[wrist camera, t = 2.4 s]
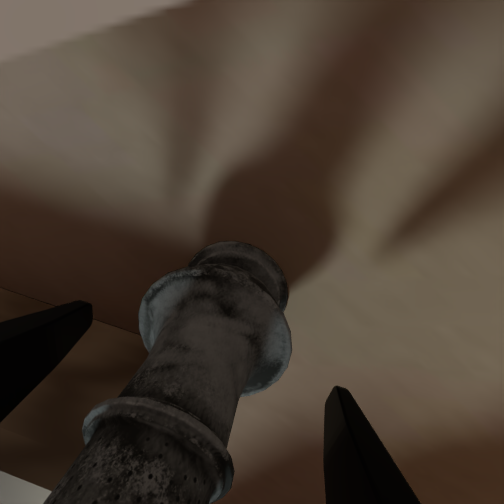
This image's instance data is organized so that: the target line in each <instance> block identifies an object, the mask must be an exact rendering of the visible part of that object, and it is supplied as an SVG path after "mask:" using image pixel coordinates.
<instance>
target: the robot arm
mask: <svg viewBox="0 0 504 504" xmlns="http://www.w3.org/2000/svg"><path fill="white" fill-rule="evenodd" d="M92 322H93V313H92V305H91V304H90V303H88V302H85V301H82V300H78V301H74V302H71V303H67V304H64V305H60V306H56V307H53V308H49V309H46V310H42V311H38V312H35V313H31V314H28V315H24V316H20V317H17V318H13V319H10V320H6V321H2V322H0V423H1V422H2V421H3V420H4V419H5V418H6V417H7V416H8V415H9V414H10V413H11V412H12V411H13V410H14V409H15V408H16V407H17V406H18V405H19V404H20V403H21V402H22V401H23V400H24V399H25V398H26V397H27V396H28V395H29V394H30V393H31V392H32V391H33V390H34V389H35V388H36V387H37V386H38V385H39V384H40V383H41V382H42V381H43V380H44V379H45V378H46V377H47V376H48V375H49V374H50V373H51V372H52V371H53V370H54V369H55V368H56V366H57V365H58V364H59V363H60V362H61V361H62V360H63V359H64V358H65V356H66V355H67V354H68V353H69V352H70V350H71V349H72V348H73V347H74V346H75V345H76V343H77V342H78V341H79V340H80V339H81V337H82V336H83V335H84V334H85V333H86V331H87V330H88V329H89V328H90V326H91V325H92ZM323 462H324V479H325V494H326V504H421V503H420V501H419V500H418V498H417V497H416V495H415V494H414V492H413V490H412V489H411V487H410V486H409V484H408V483H407V481H406V479H405V478H404V476H403V475H402V473H401V472H400V470H399V468H398V467H397V465H396V464H395V462H394V461H393V459H392V458H391V456H390V454H389V453H388V451H387V450H386V448H385V447H384V445H383V443H382V442H381V440H380V439H379V437H378V436H377V434H376V432H375V431H374V429H373V428H372V426H371V425H370V423H369V421H368V420H367V418H366V417H365V415H364V414H363V412H362V410H361V409H360V407H359V406H358V404H357V403H356V401H355V400H354V398H353V396H352V395H351V393H350V392H349V391H348V389H346V388H343V387H340V386H334V388H333V389H332V391H331V393H330V395H329V396H328V398H327V400H326V403H325V415H324V449H323Z"/></svg>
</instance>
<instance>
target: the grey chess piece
mask: <svg viewBox="0 0 504 504" xmlns="http://www.w3.org/2000/svg"><path fill="white" fill-rule="evenodd" d="M287 299H288V292H287V283H286V280H285V277H284V275H283V272H282V270H281V269H280V268H279V266H278V265H277V264H276V262H275V261H274V260H273V259H272V258H271V257H270V256H268V255H267V254H266V253H265V252H264V251H262V250H260V249H258V248H256V247H254V246H252V245H250V244H246V243H241V242H236V241H226V242H218V243H215V244H212V245H209V246H207V247H205V248H204V249H202V250H201V251H200V252H198V253H197V254H196V255H195V256H194V258H193V259H192V260H191V262H190V263H189V265H188V267H185V268H182V269H179V270H176V271H173V272H169V273H167V274H166V275H164V276H163V277H162V278H160V279H159V280H157V281H156V282H155V283H153V284H152V285H151V287H150V288H149V290H148V291H147V292H146V294H145V295H144V297H143V298H142V302H141V306H140V309H139V313H138V315H139V331H140V334H141V337H142V340H143V342H144V345H145V347H146V349H147V351H148V352H149V355H148V357H147V359H146V360H145V361H144V363H143V364H142V365H141V367H140V368H139V369H138V371H137V372H136V373H135V375H134V376H133V377H132V379H131V380H130V381H129V383H128V384H127V385H126V387H125V388H124V389H123V391H122V392H121V393H120V395H119V396H118V397H117V398H112V399H107V400H105V401H103V402H101V403H99V404H97V405H95V406H94V407H93V409H92V410H91V411H90V412H89V413H88V414H87V416H86V417H85V418H84V423H83V427H82V433H83V438H84V443H85V445H86V446H85V447H84V449H83V450H82V451H81V453H80V454H79V455H78V457H77V458H76V459H75V461H74V462H73V464H72V465H71V466H70V468H69V469H68V470H67V472H66V473H65V474H64V476H63V477H62V478H61V480H60V481H59V483H58V484H57V485H56V487H55V488H54V489H53V491H52V492H51V493H50V495H49V496H48V497H47V499H46V500H45V502H44V503H43V504H211V503H213V502H215V501H217V500H219V499H221V498H223V497H224V496H225V494H226V493H227V492H228V491H229V490H230V489H231V486H232V481H233V476H234V467H233V463H232V459H231V456H230V454H229V453H228V451H227V449H226V448H227V444H228V440H229V436H230V432H231V428H232V424H233V420H234V416H235V412H236V408H237V404H238V401H239V398H240V397H244V396H250V395H253V394H255V393H258V392H261V391H263V390H265V389H267V388H268V387H270V386H271V385H272V384H274V383H275V382H276V381H278V380H279V378H280V377H281V376H282V374H283V373H284V371H285V370H286V368H287V367H288V364H289V360H290V356H291V353H292V342H291V331H290V328H289V326H288V323H287V321H286V318H285V316H284V313H283V312H284V310H285V307H286V303H287Z"/></svg>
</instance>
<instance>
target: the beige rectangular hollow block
mask: <svg viewBox="0 0 504 504" xmlns="http://www.w3.org/2000/svg"><path fill="white" fill-rule="evenodd" d="M53 307H55V306H52V305H49V304H47V303H44V302H41V301H38V300H35V299H32V298H29V297H26V296H23V295H20V294H17V293H14V292H11V291H8V290H5V289H2V288H0V322H2V321H6V320H10V319H13V318H17V317H20V316H24V315H28V314H31V313H35V312H38V311H42V310H46V309H49V308H53ZM148 355H149V352H148V351H147V349H146V347H145V345H144V342H143V340H142V337H141V335H138V334H135V333H132V332H129V331H126V330H123V329H120V328H117V327H114V326H111V325H108V324H105V323H102V322H100V321H97V320H94V319H93V322H92V325H91V326H90V328H89V329H88V330H87V331H86V333H85V334H84V335H83V336H82V337H81V339H80V340H79V341H78V342H77V343H76V345H75V346H74V347H73V348H72V349H71V350H70V352H69V353H68V354H67V355H66V356H65V358H64V359H63V360H62V361H61V362H60V363H59V364H58V365H57V366H56V368H55V369H54V370H53V371H52V372H51V373H50V374H49V375H48V376H47V377H46V378H45V379H44V380H43V381H42V382H41V383H40V384H39V385H38V386H37V387H36V388H35V389H34V390H33V391H32V392H31V393H30V394H29V395H28V396H27V397H26V398H25V399H24V400H23V401H22V402H21V403H20V404H19V405H18V406H17V407H16V408H15V409H14V410H13V411H12V412H11V413H10V414H9V415H8V416H7V417H6V418H5V419H4V420H3V421H2V422H1V423H0V504H43V503H44V502H45V500H46V499H47V497H48V496H49V495H50V493H51V492H52V491H53V489H54V488H55V487H56V485H57V484H58V483H59V481H60V480H61V478H62V477H63V476H64V474H65V473H66V472H67V470H68V469H69V468H70V466H71V465H72V464H73V462H74V461H75V459H76V458H77V457H78V455H79V454H80V453H81V451H82V450H83V449H84V447H85V446H86V445H85V443H84V438H83V433H82V427H83V423H84V418H85V417H86V416H87V414H88V413H89V412H90V411H91V410H92V409H93V407H94V406H95V405H97V404H99V403H101V402H103V401H105V400H107V399H112V398H117V397H118V396H119V395H120V393H121V392H122V391H123V389H124V388H125V387H126V385H127V384H128V383H129V381H130V380H131V379H132V377H133V376H134V375H135V373H136V372H137V371H138V369H139V368H140V367H141V365H142V364H143V363H144V361H145V360H146V359H147V357H148Z"/></svg>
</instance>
